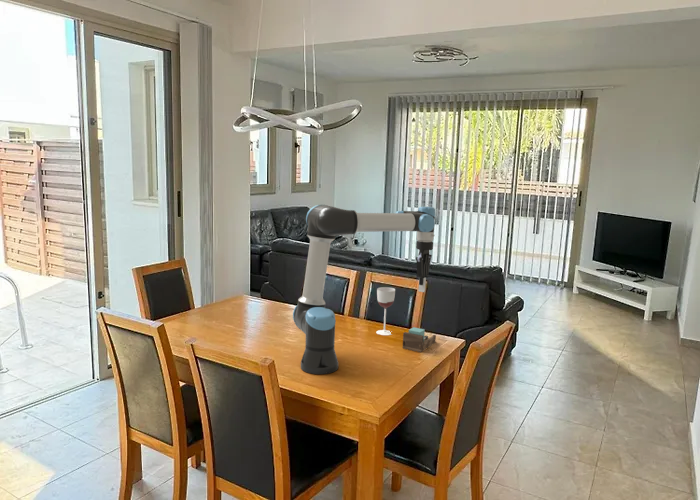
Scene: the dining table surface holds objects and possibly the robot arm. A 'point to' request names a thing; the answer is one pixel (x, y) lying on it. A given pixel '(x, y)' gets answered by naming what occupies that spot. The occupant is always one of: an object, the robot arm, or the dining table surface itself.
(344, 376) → the dining table surface
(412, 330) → the block
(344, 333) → the dining table surface
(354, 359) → the dining table surface
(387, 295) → the wineglass
